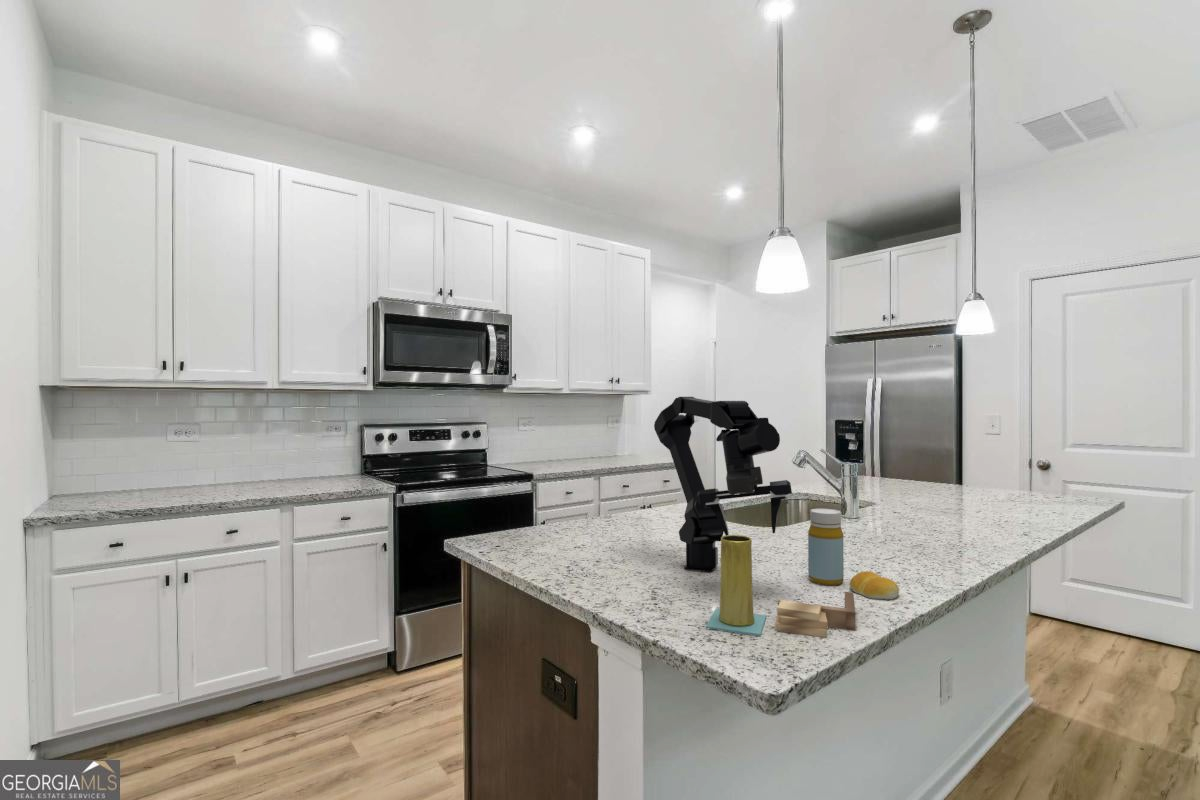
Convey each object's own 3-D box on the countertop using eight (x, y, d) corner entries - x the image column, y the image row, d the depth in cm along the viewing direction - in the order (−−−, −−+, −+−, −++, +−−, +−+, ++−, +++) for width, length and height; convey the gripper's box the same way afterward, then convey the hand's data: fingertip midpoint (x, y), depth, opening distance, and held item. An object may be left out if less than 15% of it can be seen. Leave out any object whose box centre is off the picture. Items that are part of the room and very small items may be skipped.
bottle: (846, 587, 120) (846, 514, 120) (811, 585, 121) (810, 513, 122) (839, 577, 127) (839, 508, 127) (806, 575, 128) (806, 507, 128)
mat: (705, 628, 98) (705, 626, 98) (715, 610, 107) (715, 608, 107) (760, 636, 95) (760, 634, 95) (766, 617, 103) (766, 615, 103)
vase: (711, 619, 101) (711, 537, 101) (733, 611, 105) (733, 532, 105) (739, 629, 97) (739, 544, 97) (761, 620, 101) (761, 538, 101)
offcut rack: (775, 630, 97) (774, 609, 97) (783, 600, 112) (782, 581, 112) (856, 642, 92) (856, 619, 92) (853, 608, 108) (853, 589, 108)
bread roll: (878, 603, 111) (877, 582, 111) (842, 589, 119) (842, 570, 119) (910, 598, 114) (909, 577, 114) (873, 584, 122) (873, 565, 122)
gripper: (688, 462, 116) (698, 541, 113) (784, 449, 111) (798, 532, 108) (697, 466, 127) (707, 539, 123) (785, 454, 121) (798, 530, 118)
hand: (750, 535), depth 118 cm, fingers open, 9 cm apart
